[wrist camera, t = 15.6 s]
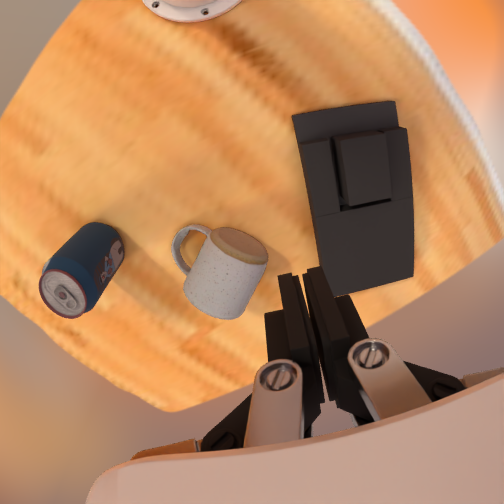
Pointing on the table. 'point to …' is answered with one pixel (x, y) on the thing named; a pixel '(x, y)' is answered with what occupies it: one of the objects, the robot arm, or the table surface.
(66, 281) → the soda can
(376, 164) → the loose pad
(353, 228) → the pad base
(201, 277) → the ceramic mug
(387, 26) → the table surface
